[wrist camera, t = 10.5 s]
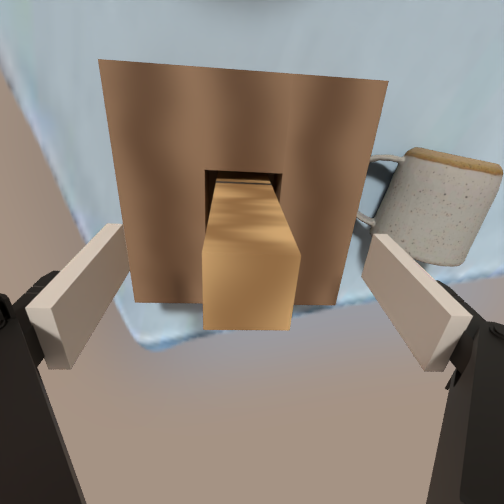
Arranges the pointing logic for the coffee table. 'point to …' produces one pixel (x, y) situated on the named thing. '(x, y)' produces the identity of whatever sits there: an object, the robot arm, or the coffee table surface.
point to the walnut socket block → (235, 164)
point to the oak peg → (248, 257)
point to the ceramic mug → (435, 204)
